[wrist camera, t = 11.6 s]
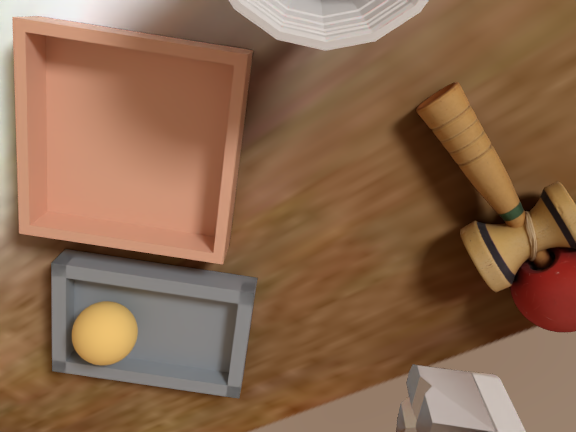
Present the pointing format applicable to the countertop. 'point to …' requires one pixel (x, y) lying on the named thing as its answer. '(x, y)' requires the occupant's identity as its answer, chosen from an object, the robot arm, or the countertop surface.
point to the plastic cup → (328, 19)
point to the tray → (157, 321)
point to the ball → (104, 333)
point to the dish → (127, 137)
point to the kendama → (511, 220)
